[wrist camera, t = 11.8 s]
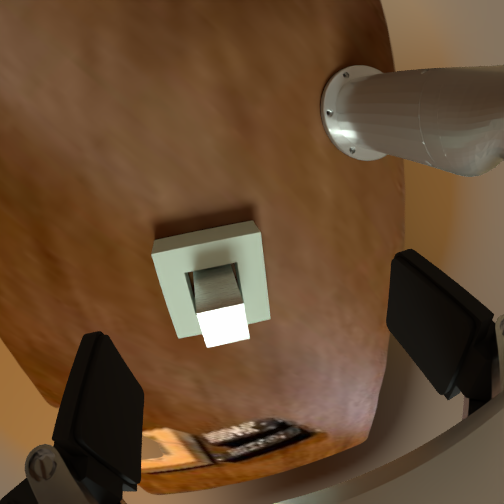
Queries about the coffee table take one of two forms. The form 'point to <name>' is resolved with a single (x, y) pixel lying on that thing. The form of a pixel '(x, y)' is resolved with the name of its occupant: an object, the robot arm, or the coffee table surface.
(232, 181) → the coffee table surface
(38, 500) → the robot arm
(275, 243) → the coffee table surface
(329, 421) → the coffee table surface
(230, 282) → the steel bar
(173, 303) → the well block
